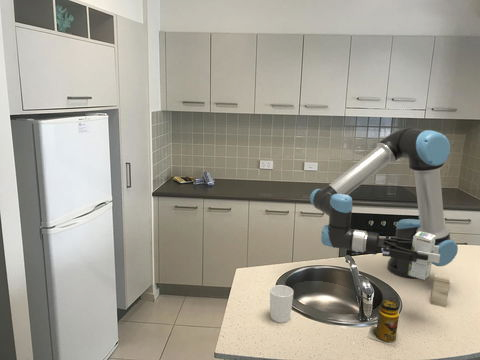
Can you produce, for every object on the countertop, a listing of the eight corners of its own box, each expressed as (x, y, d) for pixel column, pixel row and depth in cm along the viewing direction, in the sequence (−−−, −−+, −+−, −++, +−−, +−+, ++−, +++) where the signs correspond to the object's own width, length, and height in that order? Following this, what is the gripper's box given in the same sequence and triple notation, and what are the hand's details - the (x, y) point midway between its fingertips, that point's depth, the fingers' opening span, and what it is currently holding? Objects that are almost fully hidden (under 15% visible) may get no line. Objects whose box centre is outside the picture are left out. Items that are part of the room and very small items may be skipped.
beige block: (430, 297, 150) (434, 273, 148) (445, 300, 148) (449, 276, 146) (430, 304, 146) (434, 279, 143) (445, 307, 144) (449, 282, 141)
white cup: (285, 309, 139) (286, 283, 137) (295, 321, 132) (297, 294, 130) (264, 313, 137) (266, 286, 134) (274, 325, 130) (276, 298, 127)
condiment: (395, 346, 121) (400, 311, 118) (366, 337, 125) (371, 303, 122) (398, 334, 127) (402, 300, 124) (371, 326, 131) (375, 293, 128)
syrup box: (412, 269, 137) (417, 230, 133) (430, 274, 133) (436, 234, 130) (407, 275, 133) (412, 235, 129) (425, 280, 129) (431, 239, 125)
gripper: (368, 242, 148) (436, 253, 138) (361, 263, 130) (438, 277, 121) (370, 223, 146) (439, 233, 137) (363, 242, 128) (442, 255, 119)
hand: (438, 254), depth 129 cm, fingers closed on syrup box, 7 cm apart
